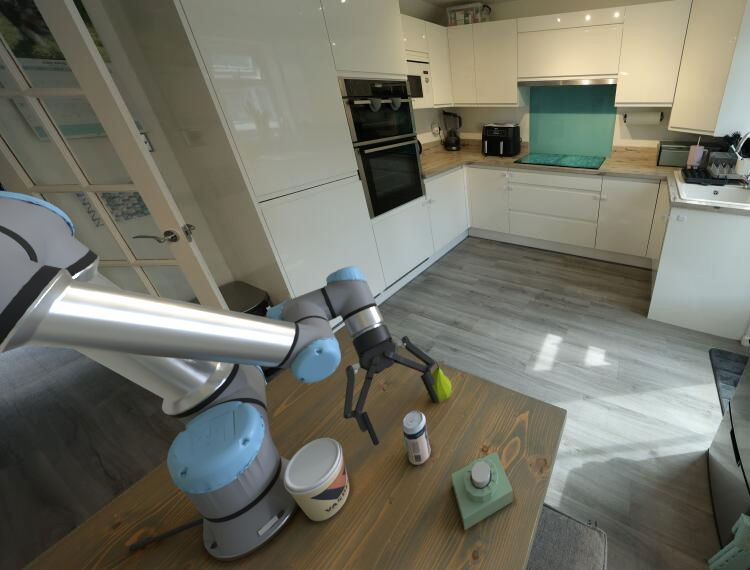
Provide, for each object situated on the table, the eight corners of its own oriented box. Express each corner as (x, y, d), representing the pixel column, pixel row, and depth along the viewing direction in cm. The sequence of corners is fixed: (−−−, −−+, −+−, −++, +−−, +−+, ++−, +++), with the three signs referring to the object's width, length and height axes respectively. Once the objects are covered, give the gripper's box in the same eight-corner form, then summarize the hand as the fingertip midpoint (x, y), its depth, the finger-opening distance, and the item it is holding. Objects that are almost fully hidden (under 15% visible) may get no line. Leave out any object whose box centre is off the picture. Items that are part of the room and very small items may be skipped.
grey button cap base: (464, 530, 58) (462, 513, 55) (452, 485, 64) (450, 468, 62) (512, 501, 62) (512, 484, 59) (496, 462, 68) (496, 445, 66)
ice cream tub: (332, 533, 57) (315, 497, 52) (289, 520, 59) (268, 484, 54) (363, 476, 66) (351, 441, 61) (325, 466, 67) (310, 431, 62)
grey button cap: (475, 492, 59) (475, 486, 58) (469, 472, 61) (468, 466, 61) (493, 482, 60) (492, 476, 59) (486, 464, 63) (485, 458, 62)
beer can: (435, 450, 70) (429, 416, 65) (419, 470, 67) (412, 435, 62) (420, 439, 73) (414, 404, 68) (404, 457, 69) (396, 422, 64)
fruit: (438, 412, 79) (433, 379, 74) (423, 398, 82) (418, 365, 77) (457, 395, 83) (454, 363, 78) (443, 382, 87) (439, 350, 82)
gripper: (414, 310, 81) (450, 387, 78) (306, 363, 65) (344, 462, 62) (422, 303, 76) (462, 386, 72) (305, 359, 60) (348, 468, 56)
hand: (408, 421), depth 67 cm, fingers open, 13 cm apart
